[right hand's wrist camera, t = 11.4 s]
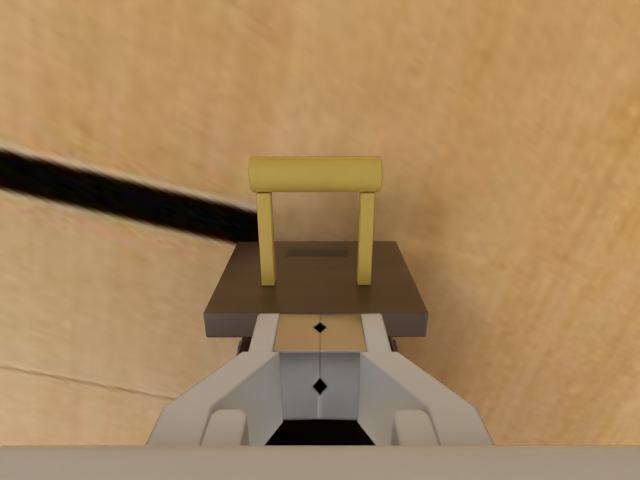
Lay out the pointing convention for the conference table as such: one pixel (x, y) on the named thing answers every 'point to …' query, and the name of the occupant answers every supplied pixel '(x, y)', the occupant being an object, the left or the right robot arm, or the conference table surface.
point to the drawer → (315, 275)
